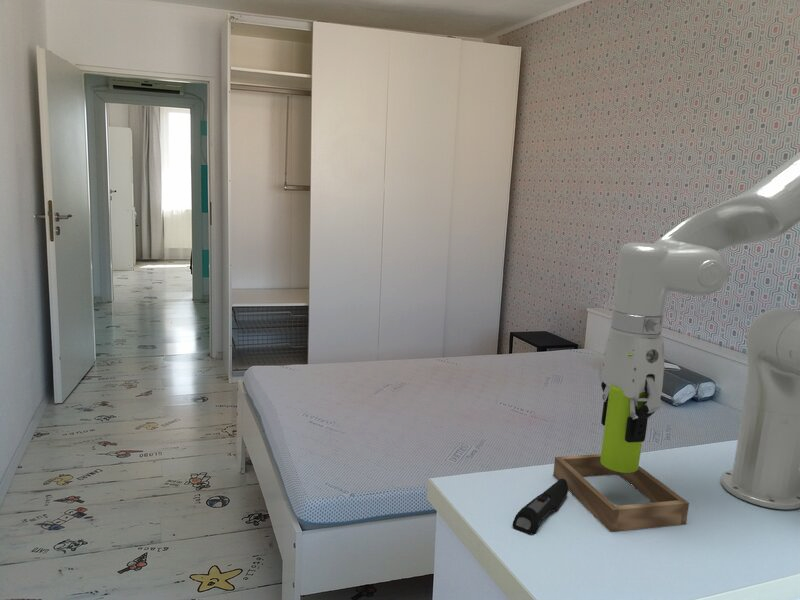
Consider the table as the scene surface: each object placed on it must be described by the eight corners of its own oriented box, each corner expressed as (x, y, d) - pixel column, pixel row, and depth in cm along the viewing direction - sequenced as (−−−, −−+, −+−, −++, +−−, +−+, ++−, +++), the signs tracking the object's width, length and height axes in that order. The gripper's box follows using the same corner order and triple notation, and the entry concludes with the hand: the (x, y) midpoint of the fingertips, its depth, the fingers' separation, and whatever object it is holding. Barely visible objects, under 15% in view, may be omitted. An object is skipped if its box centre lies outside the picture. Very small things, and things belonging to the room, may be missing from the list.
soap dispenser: (598, 471, 100) (615, 349, 96) (600, 453, 107) (616, 338, 102) (638, 478, 98) (656, 355, 94) (637, 460, 105) (654, 343, 101)
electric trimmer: (573, 499, 104) (575, 481, 103) (533, 538, 92) (535, 517, 91) (552, 492, 106) (553, 474, 105) (509, 528, 94) (511, 509, 93)
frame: (619, 470, 114) (621, 452, 113) (686, 524, 97) (689, 503, 96) (553, 475, 111) (555, 457, 110) (610, 531, 94) (613, 510, 93)
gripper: (695, 337, 91) (677, 454, 94) (625, 311, 107) (612, 412, 111) (649, 337, 89) (633, 457, 93) (585, 311, 105) (573, 413, 109)
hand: (622, 431), depth 102 cm, fingers closed on soap dispenser, 6 cm apart
